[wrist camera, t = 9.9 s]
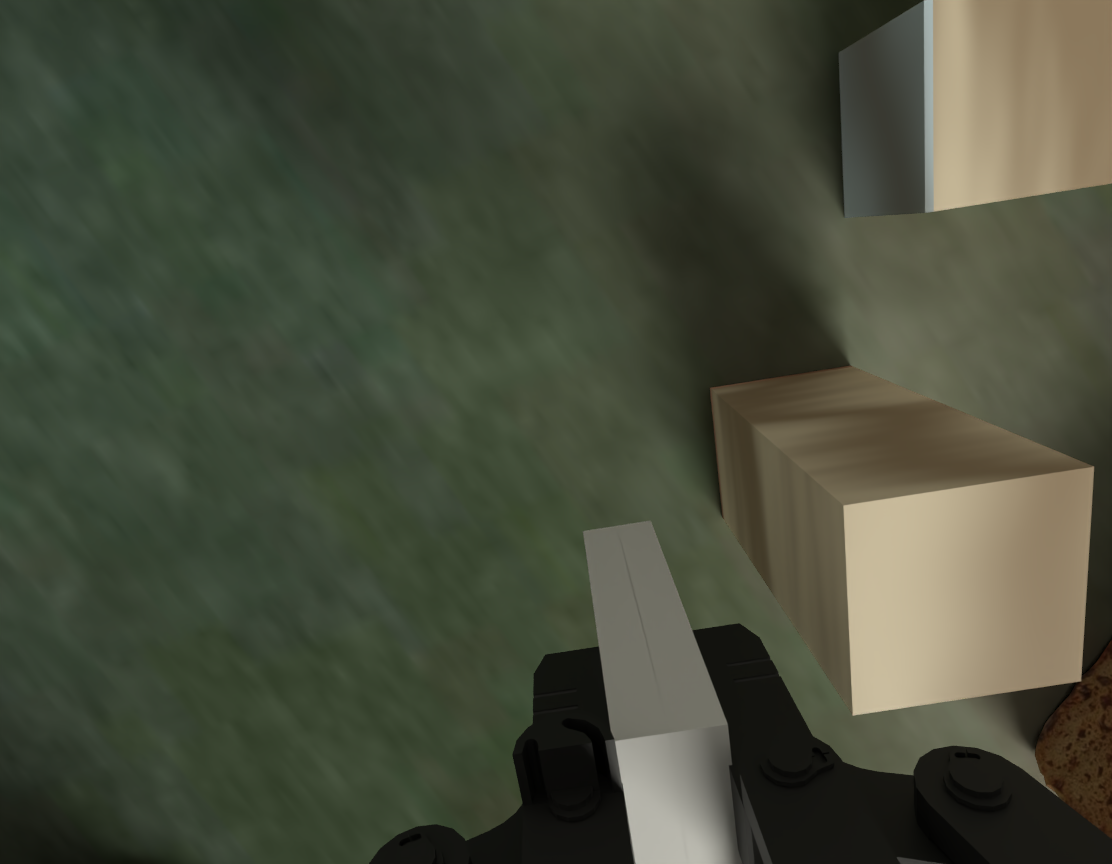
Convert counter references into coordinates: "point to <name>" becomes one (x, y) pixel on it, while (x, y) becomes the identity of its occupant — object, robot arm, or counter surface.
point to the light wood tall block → (906, 536)
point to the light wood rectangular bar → (976, 105)
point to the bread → (1082, 746)
